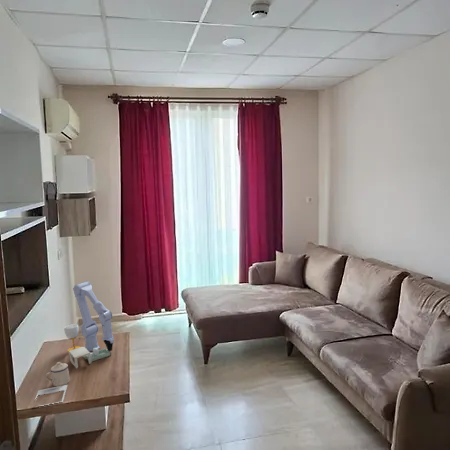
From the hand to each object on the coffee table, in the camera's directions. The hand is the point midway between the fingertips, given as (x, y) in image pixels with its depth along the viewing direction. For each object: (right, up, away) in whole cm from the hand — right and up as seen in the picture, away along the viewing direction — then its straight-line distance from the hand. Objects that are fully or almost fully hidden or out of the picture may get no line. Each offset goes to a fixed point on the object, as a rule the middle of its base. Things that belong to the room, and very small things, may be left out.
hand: (110, 350), depth 263 cm
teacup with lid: (-19, -8, -34) cm, 40 cm away
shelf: (-15, -4, -10) cm, 18 cm away
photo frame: (-17, -10, -48) cm, 52 cm away
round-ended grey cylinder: (-7, -2, -5) cm, 9 cm away
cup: (-26, -3, +11) cm, 29 cm away
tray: (-6, -3, -4) cm, 8 cm away
